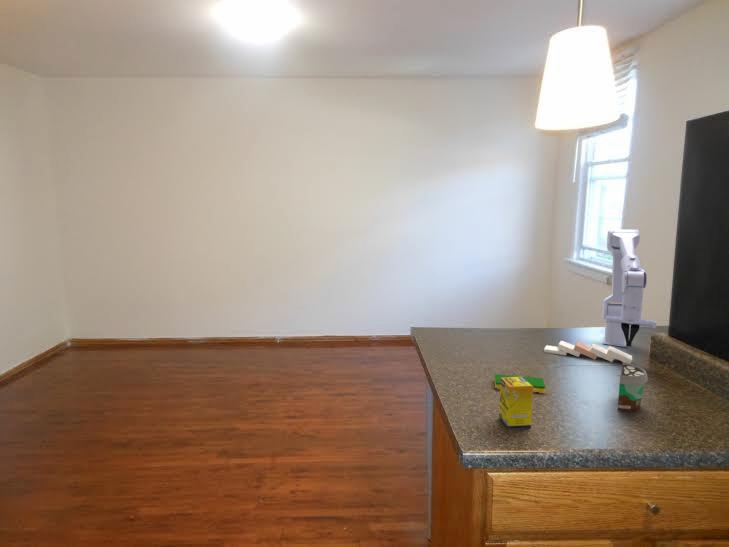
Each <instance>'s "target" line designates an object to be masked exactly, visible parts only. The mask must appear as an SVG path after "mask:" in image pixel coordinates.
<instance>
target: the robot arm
mask: <svg viewBox="0 0 729 547" xmlns="http://www.w3.org/2000/svg"><path fill="white" fill-rule="evenodd" d="M640 234H641V232H640V231H639V230H638V229H637V228H635V229H625V228H624V229H618V228H617V229H615V228H613V229H612V228H610V229H608V231H607V236H606V248H607V249H606V250H607V251H608V252H609V253H610V252H611V256H612V268H611V269H612V273H611V274H612V275H611V290H610V291H611V293H610V295H608V296H607V297H605V298H604V299H603V300H602V306H601V318H603V319H604V320H605V327H604V337H603V339H602V344H603V345H608V346H615V347H617V346H618V347H624V348H626V347H632V344H633V341H634V339H635V336H636V335H637V334H638V332H639V330H640V327H646V328H652V329H656V328H657V320H650V319H644V318H642V308H643V298H644V296H643V295H644V289H645V288H646V286H647V283H648V282H647V281H648V277H647V276H648V275H647V272H646V271H645V269H643V268H642V265H641V259H640V258H639V257H638V256H637V255H636V250H635V249H637V246H638V245H639V243H640V240H641V239H640Z"/></svg>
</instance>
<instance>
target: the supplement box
mask: <svg viewBox="0 0 729 547" xmlns="http://www.w3.org/2000/svg"><path fill="white" fill-rule="evenodd" d="M499 390H500V391H499V409H498V410H499V411H498V412H499V414H498V418H499V419H500V420H501V422H502V423H503V424H504V425H505V427H506V429H508V430H513V429H514V430H517V429H531V428H532V418H533V417H532V415H533V413H532V411H533V397H534V392H533V386H532V385H531V384H530V383H528V382H527V381H526V380H525V379H524V378H523V377H504V378H501V381H500V389H499Z"/></svg>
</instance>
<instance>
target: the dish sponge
mask: <svg viewBox="0 0 729 547" xmlns="http://www.w3.org/2000/svg"><path fill="white" fill-rule="evenodd" d="M504 377H523V378H524V379H525V380H526V381H527V382H528V383H530V384H531V385H532V386H533V393H535V392H539V394H546V385H545V381H544V378H542V377H533V376H523V375H510V374H499V373H497V374H496V373H495V374H494V388H497V389H496V390H500V381H501V378H504Z"/></svg>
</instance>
